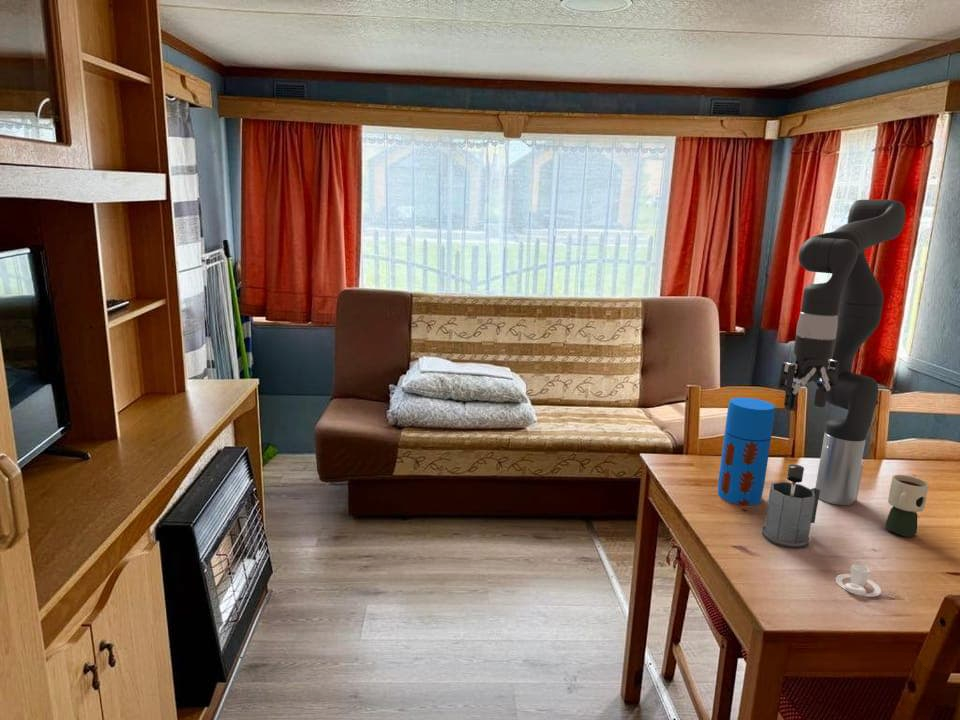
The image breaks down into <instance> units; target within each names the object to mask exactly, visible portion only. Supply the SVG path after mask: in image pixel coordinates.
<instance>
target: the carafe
mask: <svg viewBox="0 0 960 720" xmlns="http://www.w3.org/2000/svg"><path fill="white" fill-rule="evenodd" d="M791 486H792V482H791V481H777V482H771V484H770V489H769V496H768V503H767V508H766V509H767V510H766V516H765V522H764V525H763V527H762V533H761V534H762V537H763V538H764V539H765V540H766V541H767V542H769V543H771V544H772V545H775V546H778V547H779V548H784V549H790V550H802V549H805V548H808V546H809V544H810V530H811V526H812V525H811V524H815V521H816V516H817V509H818V505H819V504H818V503H819V500H820V499H819V493H820V490H819V489H817V488H815V487H813V488H809V487H807V486H805V485H803V484H800V483H796V486H795V492H794V497H792V496H790V492H791Z"/></svg>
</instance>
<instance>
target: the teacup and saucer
mask: <svg viewBox="0 0 960 720" xmlns="http://www.w3.org/2000/svg"><path fill="white" fill-rule="evenodd" d="M870 572H871V571H870V569H869V568H868V567H867V566H865V565H862V564H859V563H858V564H851V568H850V573H841V574H838V575H836V577H835V582H836V584H837V585H838V586H839V587H841V589H843V590H845V591H847V592H849V593H851V594H853V595H857V596H861V597H869V598H871V597H878V596H880V595H881V594H882V589H881V587H880V586H879V585H878V584H877V583H876V582H874V581H873V580H871V579H869V576H870ZM846 578H849V579H850V582H846V583H845V584H844V583H843V582H842V581H843V579H846ZM867 583H868V584H870V585H871V586H872V587H873V589H874V591H873V592H869V593H867V589H866V584H867Z"/></svg>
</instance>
